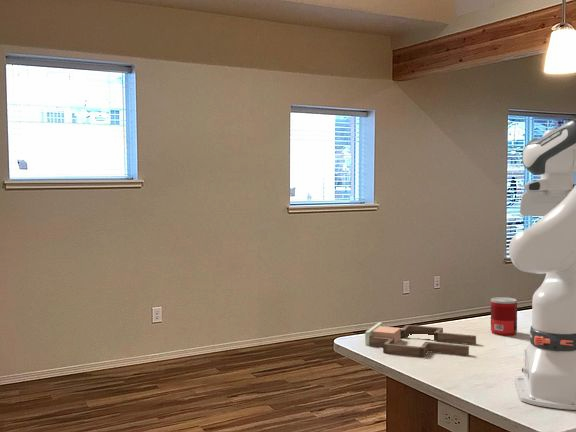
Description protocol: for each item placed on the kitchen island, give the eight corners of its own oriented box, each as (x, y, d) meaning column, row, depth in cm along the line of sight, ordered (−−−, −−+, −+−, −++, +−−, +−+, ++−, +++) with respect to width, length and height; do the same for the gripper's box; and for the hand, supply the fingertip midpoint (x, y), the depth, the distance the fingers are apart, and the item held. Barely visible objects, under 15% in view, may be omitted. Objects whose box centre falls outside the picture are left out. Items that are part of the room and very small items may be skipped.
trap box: (464, 361, 172) (464, 347, 172) (358, 349, 186) (358, 336, 185) (479, 338, 195) (479, 326, 195) (384, 330, 208) (384, 318, 208)
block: (394, 346, 190) (393, 333, 190) (372, 344, 193) (371, 331, 193) (400, 340, 196) (400, 328, 196) (379, 338, 199) (378, 326, 199)
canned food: (520, 335, 198) (520, 301, 197) (495, 336, 198) (495, 302, 197) (512, 329, 205) (512, 296, 204) (487, 330, 205) (487, 297, 205)
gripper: (596, 183, 181) (595, 231, 181) (521, 184, 190) (521, 229, 190) (596, 184, 175) (596, 233, 176) (519, 185, 184) (519, 231, 185)
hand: (556, 231), depth 183 cm, fingers closed
